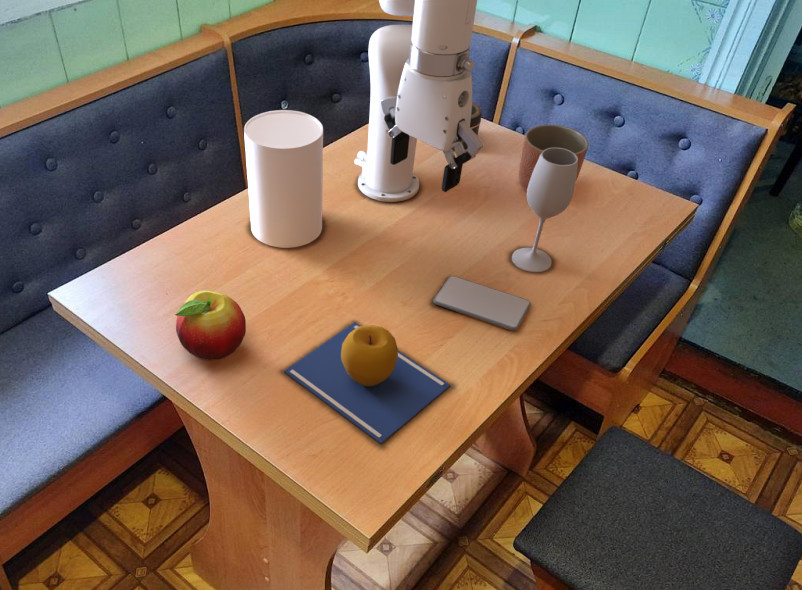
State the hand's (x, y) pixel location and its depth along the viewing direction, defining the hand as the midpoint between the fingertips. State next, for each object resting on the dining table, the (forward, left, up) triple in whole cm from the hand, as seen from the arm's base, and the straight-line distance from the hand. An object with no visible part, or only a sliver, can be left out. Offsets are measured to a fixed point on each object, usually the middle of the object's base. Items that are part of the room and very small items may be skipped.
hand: (423, 174), depth 106 cm
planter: (-4, +49, -25) cm, 55 cm away
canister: (-31, +1, -25) cm, 40 cm away
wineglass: (+8, +26, -25) cm, 37 cm away
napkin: (+7, -18, -25) cm, 32 cm away
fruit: (-15, -30, -25) cm, 42 cm away
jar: (-29, +51, -25) cm, 64 cm away
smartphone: (+9, +9, -25) cm, 28 cm away
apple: (+7, -18, -25) cm, 31 cm away
